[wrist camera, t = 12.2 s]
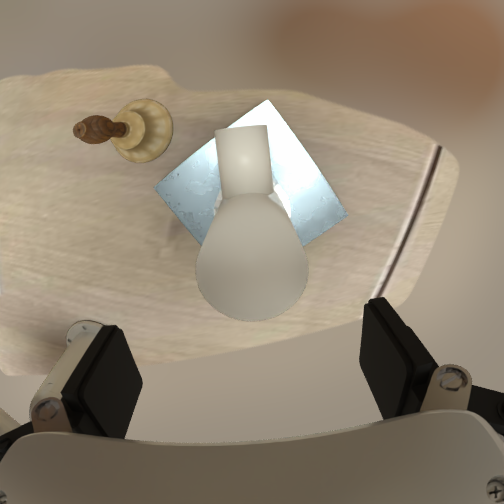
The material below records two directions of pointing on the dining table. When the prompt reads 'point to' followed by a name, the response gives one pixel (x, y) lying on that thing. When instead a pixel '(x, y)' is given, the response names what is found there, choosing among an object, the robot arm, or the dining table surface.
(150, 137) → the hand bell
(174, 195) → the vent box
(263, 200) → the white tall branched piece
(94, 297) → the dining table surface
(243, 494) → the robot arm
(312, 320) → the dining table surface
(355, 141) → the dining table surface
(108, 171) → the dining table surface
